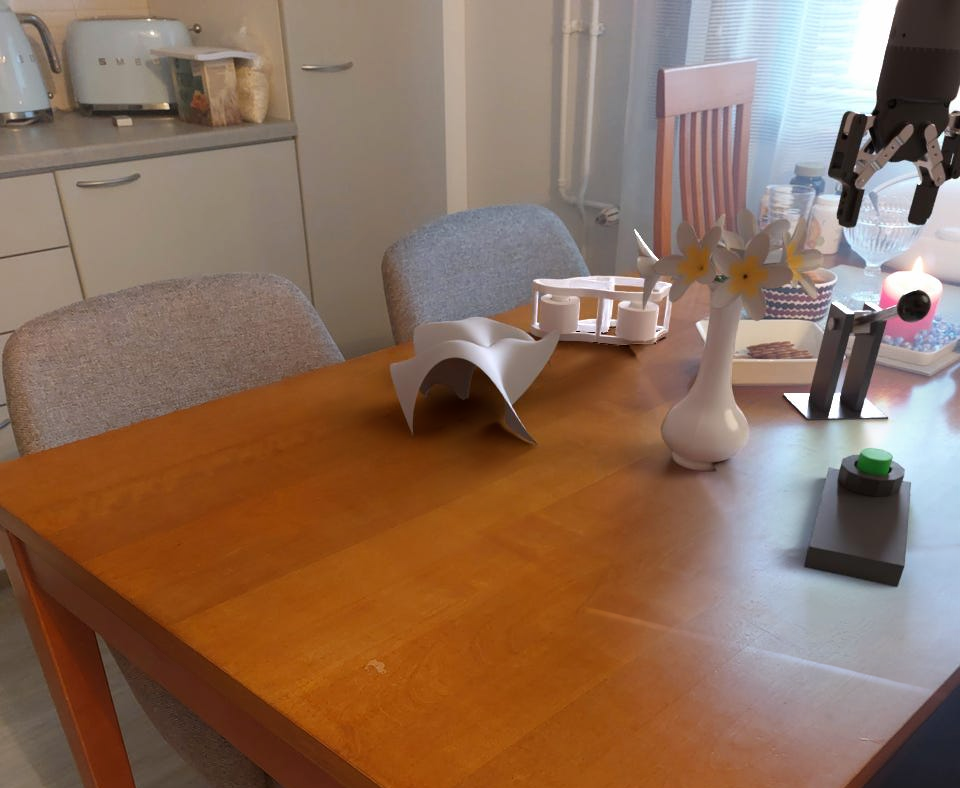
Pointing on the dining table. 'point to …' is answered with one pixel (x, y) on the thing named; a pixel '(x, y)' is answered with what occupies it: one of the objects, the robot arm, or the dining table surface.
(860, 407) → the lever bracket
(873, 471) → the green button
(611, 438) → the dining table surface
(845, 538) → the dark box
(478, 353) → the sculpture
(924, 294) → the switch lever
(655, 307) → the car outline toy
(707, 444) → the flower vase
